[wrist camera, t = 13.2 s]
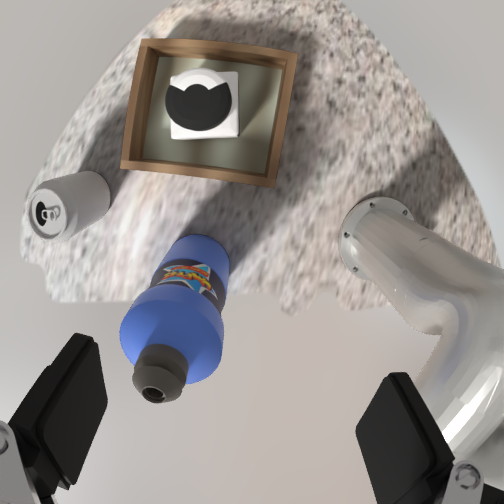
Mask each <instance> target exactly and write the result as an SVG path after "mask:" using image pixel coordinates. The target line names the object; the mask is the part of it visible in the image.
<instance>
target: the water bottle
mask: <svg viewBox="0 0 504 504" xmlns="http://www.w3.org/2000/svg"><path fill="white" fill-rule="evenodd" d="M229 269H230V264H229V258H228V255H227V253H226V251H225V249H224V248H223V247H222V245H220V244H219V243H218V242H217V241H216V240H214V239H213V238H211V237H208V236H205V235H200V234H193V235H188V236H185V237H183V238H181V239H179V240H178V241H176V242H175V243H174V244H173V246H172V247H171V248H170V250H169V251H168V253H167V254H166V256H165V257H164V259H163V260H162V262H161V263H160V265H159V267H158V268H157V270H156V271H155V273H154V275H153V277H152V280H151V284H150V287H149V288H148V289H147V290H146V291H144V292H143V293H141V294H140V295H139V296H138V297H137V299H136V300H135V301H134V303H133V304H132V306H131V307H130V309H129V311H128V312H127V314H126V316H125V317H124V319H123V321H122V323H121V327H120V342H121V346H122V349H123V351H124V353H125V355H126V356H127V358H128V359H129V360H130V362H131V363H132V364H133V365H134V366H135V367H134V374H133V378H132V380H133V384H134V386H135V387H136V389H137V390H138V391H139V392H140V393H141V395H143V397H144V398H145V399H146V400H148V401H150V402H152V403H163V402H169V401H173V400H175V399H177V398H178V397H179V396H180V395H181V393H182V388H183V387H184V386H185V384H192V383H195V382H199V381H201V380H203V379H205V378H207V377H208V376H209V375H211V374H212V373H213V372H214V371H215V369H216V368H217V367H218V365H219V363H220V360H221V356H222V348H223V338H224V327H223V322H222V318H221V311H222V309H223V307H224V305H225V300H226V294H227V286H228V277H229Z"/></svg>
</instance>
